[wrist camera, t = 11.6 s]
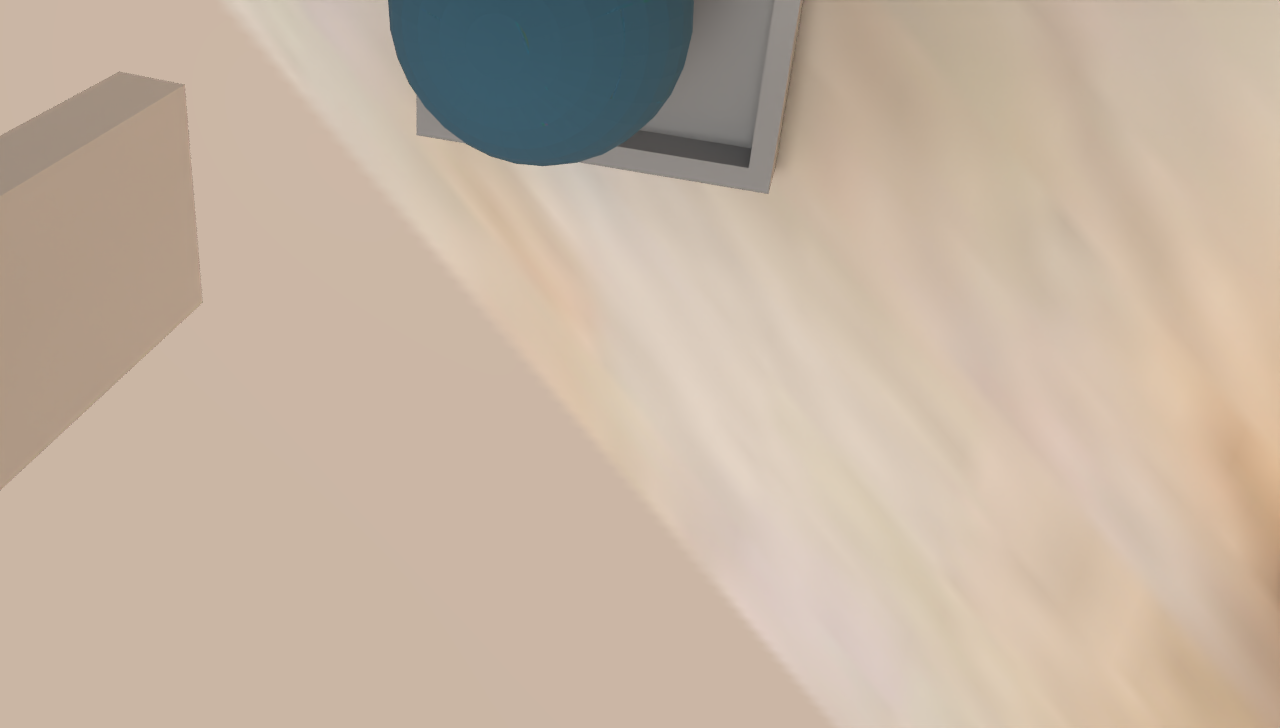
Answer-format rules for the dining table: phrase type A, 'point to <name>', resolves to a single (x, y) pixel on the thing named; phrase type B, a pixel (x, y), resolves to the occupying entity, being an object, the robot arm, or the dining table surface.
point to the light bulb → (542, 70)
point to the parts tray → (712, 100)
